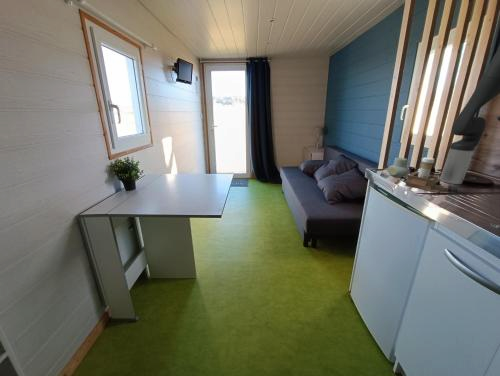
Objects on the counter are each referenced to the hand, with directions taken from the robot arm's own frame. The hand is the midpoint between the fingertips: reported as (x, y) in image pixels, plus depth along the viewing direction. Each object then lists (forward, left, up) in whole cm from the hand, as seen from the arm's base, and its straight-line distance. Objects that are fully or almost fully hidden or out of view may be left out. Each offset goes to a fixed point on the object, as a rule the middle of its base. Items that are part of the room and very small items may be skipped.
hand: (499, 120), depth 87 cm
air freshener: (-14, -33, -33) cm, 48 cm away
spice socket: (-4, -17, -33) cm, 37 cm away
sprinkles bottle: (-3, -18, -32) cm, 37 cm away
